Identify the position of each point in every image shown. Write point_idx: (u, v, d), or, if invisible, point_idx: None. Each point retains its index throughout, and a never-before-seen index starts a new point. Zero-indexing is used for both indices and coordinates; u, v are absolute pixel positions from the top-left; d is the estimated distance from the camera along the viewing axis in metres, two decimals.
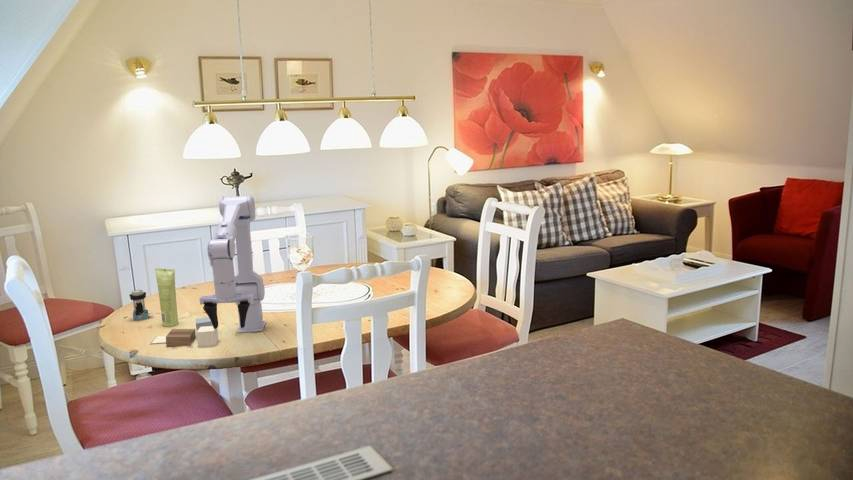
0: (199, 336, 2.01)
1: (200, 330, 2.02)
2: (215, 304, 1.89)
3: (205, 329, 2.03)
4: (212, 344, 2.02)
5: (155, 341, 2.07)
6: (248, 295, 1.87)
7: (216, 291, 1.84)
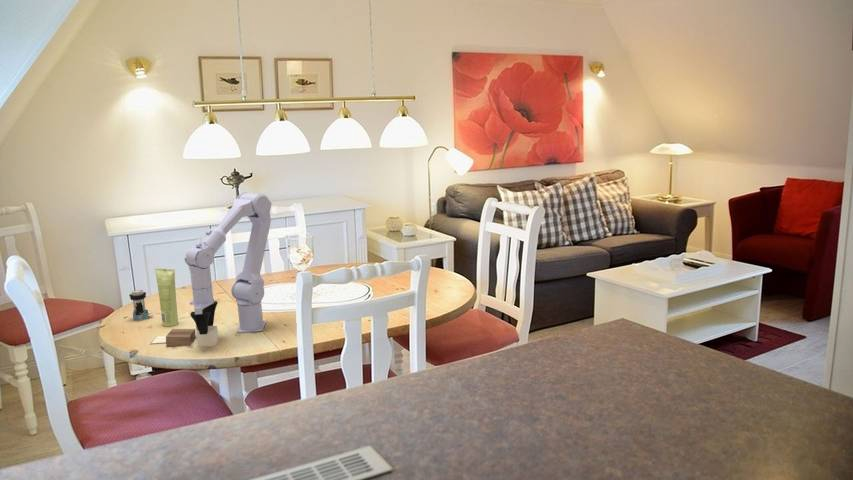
0: (199, 336, 2.01)
1: None
2: (211, 305, 2.06)
3: None
4: (212, 344, 2.02)
5: (155, 341, 2.07)
6: (198, 307, 1.95)
7: None
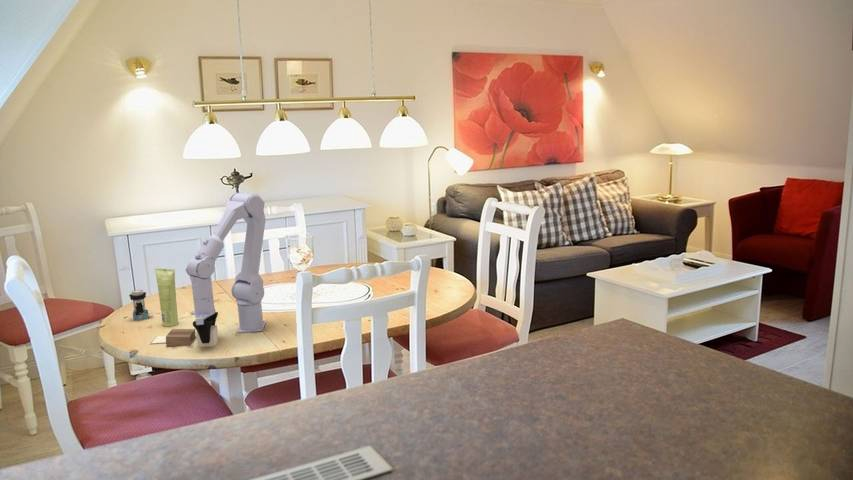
0: (199, 336, 2.01)
1: None
2: (211, 316, 2.05)
3: None
4: (212, 344, 2.02)
5: (155, 341, 2.07)
6: (199, 317, 1.96)
7: None
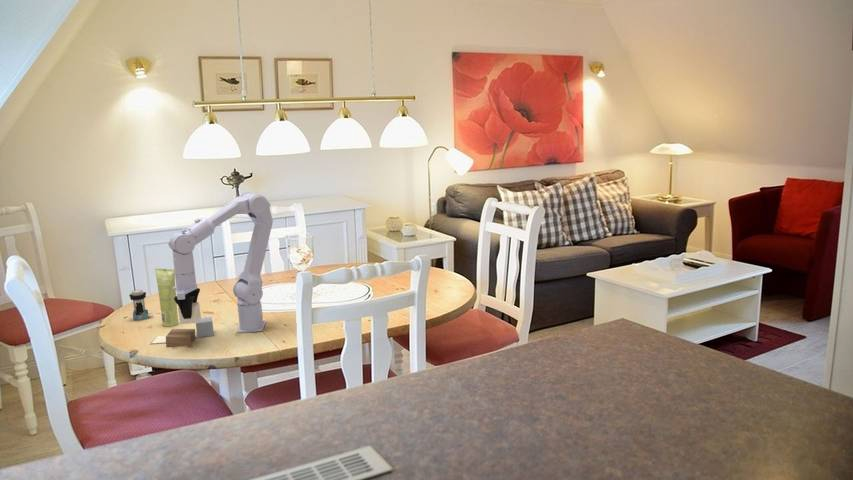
0: None
1: None
2: (193, 292, 2.05)
3: None
4: (194, 320, 2.02)
5: (155, 341, 2.07)
6: (180, 292, 1.96)
7: None
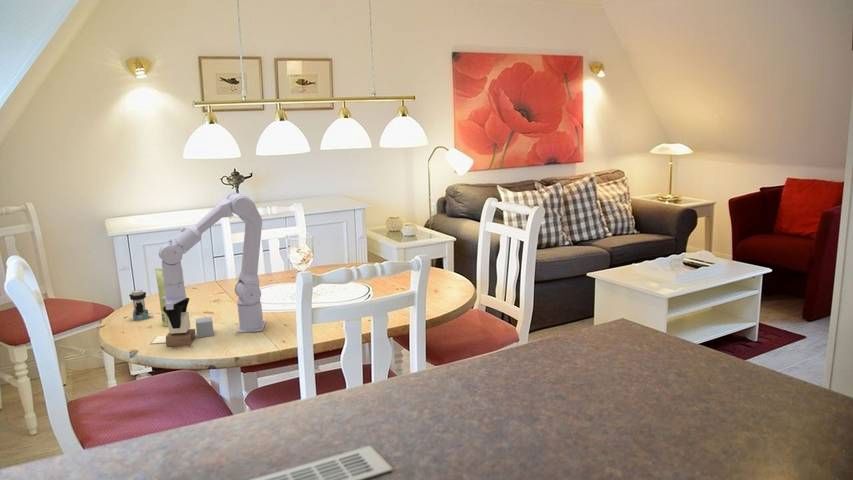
0: None
1: None
2: (183, 302, 2.07)
3: None
4: (183, 330, 2.03)
5: (155, 341, 2.07)
6: (169, 302, 1.97)
7: None
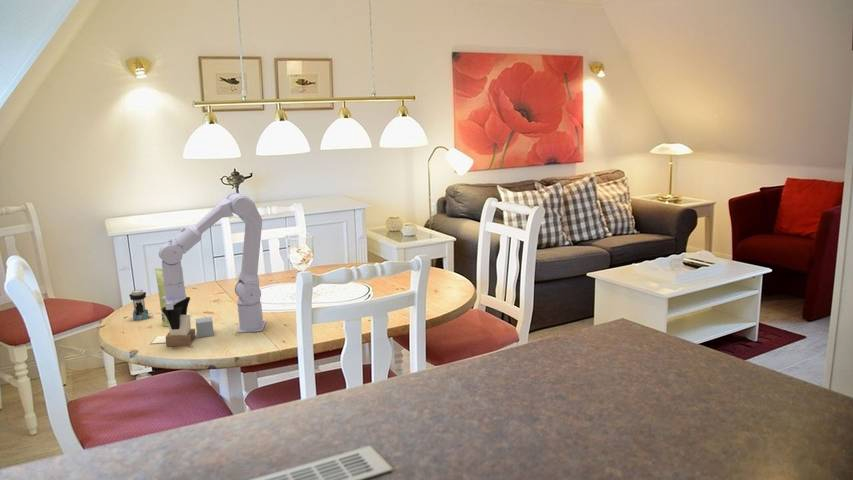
0: None
1: None
2: (183, 301, 2.08)
3: None
4: (184, 333, 2.04)
5: (155, 341, 2.07)
6: (169, 302, 1.97)
7: None
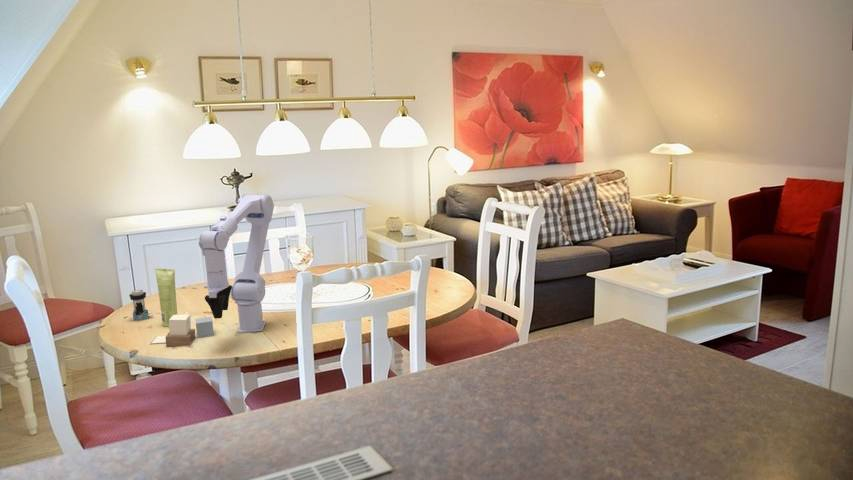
0: (171, 324, 2.03)
1: (173, 318, 2.04)
2: (225, 289, 2.03)
3: (178, 317, 2.04)
4: (184, 333, 2.04)
5: (155, 341, 2.07)
6: (212, 290, 1.93)
7: None
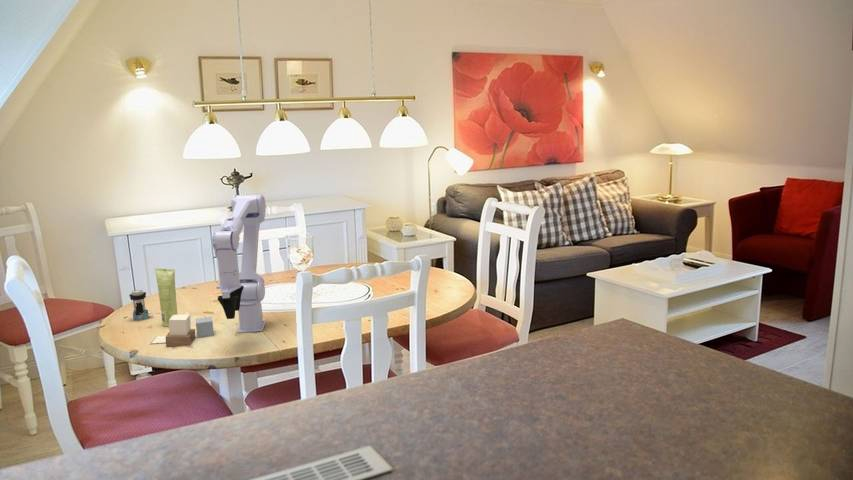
0: (171, 324, 2.03)
1: (173, 318, 2.04)
2: (237, 290, 2.02)
3: (178, 317, 2.04)
4: (184, 333, 2.04)
5: (155, 341, 2.07)
6: (225, 291, 1.92)
7: None
